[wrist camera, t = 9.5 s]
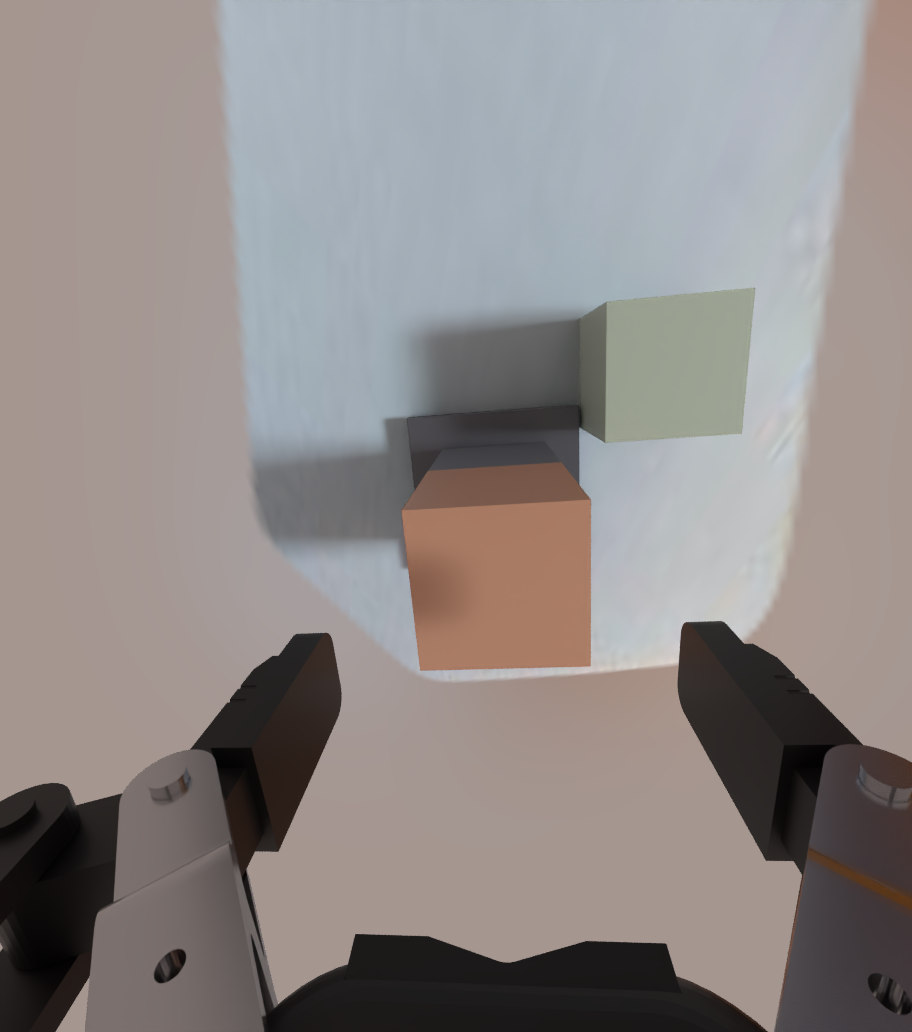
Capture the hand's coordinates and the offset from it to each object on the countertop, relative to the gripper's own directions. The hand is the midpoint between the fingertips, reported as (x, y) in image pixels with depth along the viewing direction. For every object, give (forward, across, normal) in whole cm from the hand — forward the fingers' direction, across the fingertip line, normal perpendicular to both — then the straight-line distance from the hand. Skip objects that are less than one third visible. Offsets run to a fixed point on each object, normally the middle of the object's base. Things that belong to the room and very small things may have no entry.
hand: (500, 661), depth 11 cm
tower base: (+17, 0, 0) cm, 17 cm away
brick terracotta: (+10, 0, 0) cm, 10 cm away
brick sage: (+17, -8, -6) cm, 19 cm away
